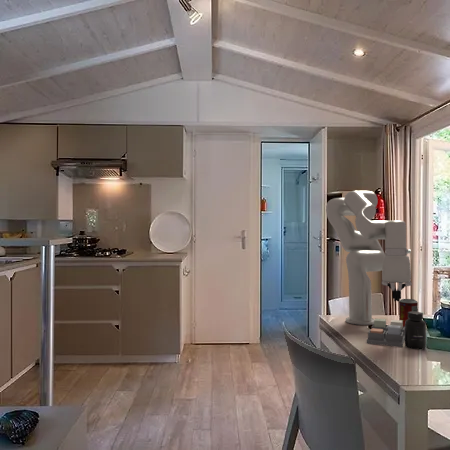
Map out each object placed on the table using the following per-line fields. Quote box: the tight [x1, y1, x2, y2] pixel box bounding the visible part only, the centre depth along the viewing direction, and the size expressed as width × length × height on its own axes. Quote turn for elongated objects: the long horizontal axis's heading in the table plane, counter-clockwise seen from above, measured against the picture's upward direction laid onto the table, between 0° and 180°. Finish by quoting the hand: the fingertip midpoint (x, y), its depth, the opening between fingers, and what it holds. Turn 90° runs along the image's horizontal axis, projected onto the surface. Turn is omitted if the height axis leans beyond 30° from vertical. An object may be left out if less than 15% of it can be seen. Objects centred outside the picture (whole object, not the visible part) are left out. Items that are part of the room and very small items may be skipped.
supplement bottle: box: [404, 311, 427, 350], centre depth 152 cm, size 7×7×12 cm
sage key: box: [374, 318, 387, 328], centre depth 170 cm, size 4×4×2 cm
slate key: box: [388, 324, 401, 335], centre depth 158 cm, size 4×4×2 cm
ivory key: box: [390, 319, 403, 329], centre depth 167 cm, size 4×4×2 cm
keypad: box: [366, 324, 405, 348], centre depth 164 cm, size 20×12×3 cm, turn 154°
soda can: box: [398, 298, 419, 326], centre depth 177 cm, size 7×7×12 cm
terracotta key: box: [371, 327, 383, 334], centre depth 161 cm, size 4×4×2 cm
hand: (396, 300), depth 167 cm, fingers closed
